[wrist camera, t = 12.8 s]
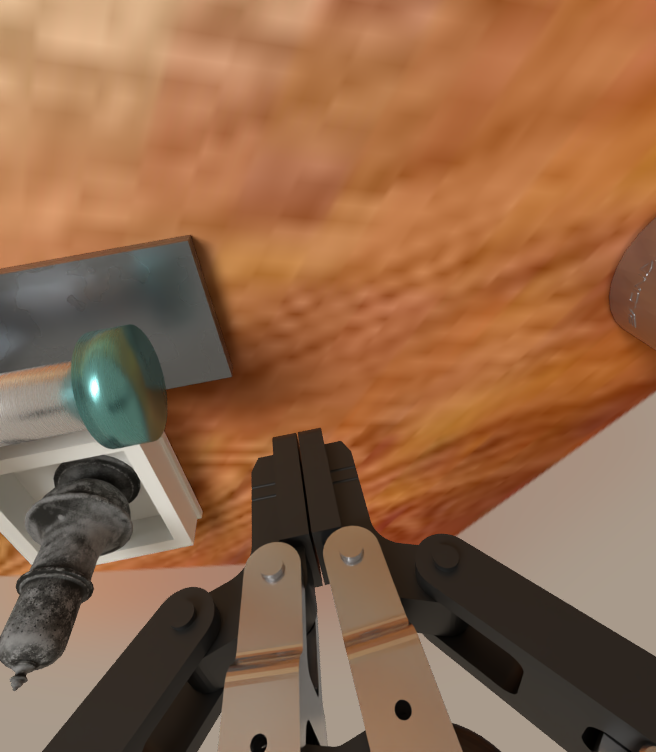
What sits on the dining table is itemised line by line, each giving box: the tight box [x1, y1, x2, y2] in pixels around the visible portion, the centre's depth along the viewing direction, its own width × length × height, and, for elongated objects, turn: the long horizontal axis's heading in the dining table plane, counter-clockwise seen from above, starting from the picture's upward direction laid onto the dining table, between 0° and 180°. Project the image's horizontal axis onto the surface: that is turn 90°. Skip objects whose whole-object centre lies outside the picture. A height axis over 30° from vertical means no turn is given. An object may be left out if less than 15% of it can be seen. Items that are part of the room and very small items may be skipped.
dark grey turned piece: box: [0, 455, 140, 691], centre depth 24 cm, size 6×6×12 cm
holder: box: [0, 430, 203, 565], centre depth 28 cm, size 11×11×3 cm
